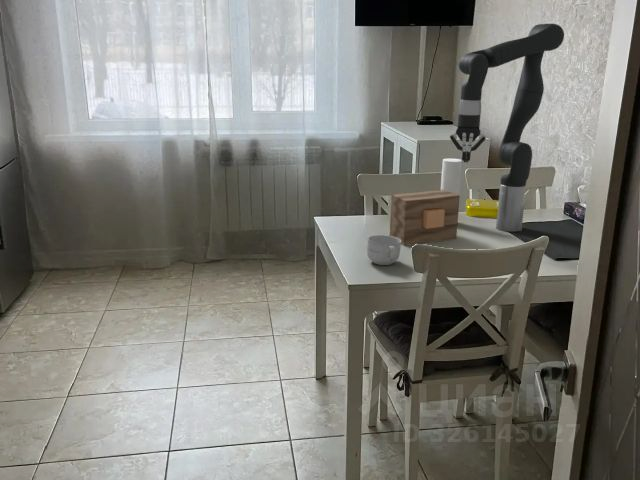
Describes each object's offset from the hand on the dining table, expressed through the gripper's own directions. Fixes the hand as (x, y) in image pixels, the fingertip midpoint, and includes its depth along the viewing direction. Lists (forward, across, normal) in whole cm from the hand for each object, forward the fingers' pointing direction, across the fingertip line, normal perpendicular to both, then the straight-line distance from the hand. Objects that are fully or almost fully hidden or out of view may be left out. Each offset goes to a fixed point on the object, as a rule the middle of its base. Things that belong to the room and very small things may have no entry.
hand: (465, 161), depth 224 cm
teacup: (+27, +23, +40) cm, 54 cm away
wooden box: (+27, +13, +9) cm, 31 cm away
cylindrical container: (+27, +5, -14) cm, 31 cm away
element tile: (+28, -9, -34) cm, 45 cm away
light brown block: (+21, +11, +12) cm, 26 cm away
